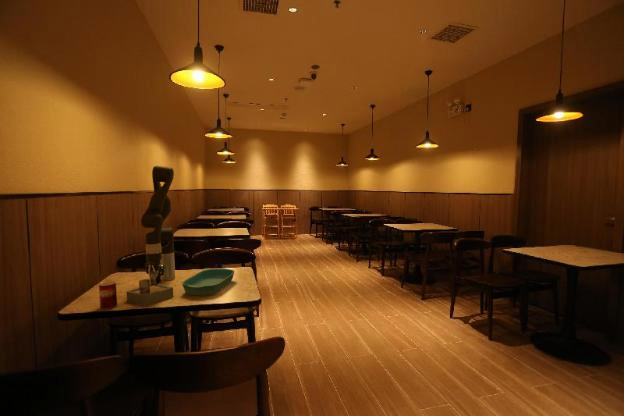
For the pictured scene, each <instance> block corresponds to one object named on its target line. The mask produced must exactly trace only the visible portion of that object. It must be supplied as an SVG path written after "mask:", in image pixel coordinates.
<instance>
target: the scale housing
mask: <svg viewBox="0 0 624 416" xmlns="http://www.w3.org/2000/svg"><path fill="white" fill-rule="evenodd" d="M150 286H153V285H150ZM154 286H159V287H163V288H167V289H164V290H161V291H158V292H154V293H151V294H148V295H143V294H139V293H136V292H133V291H137V290H139V287H138V288H134V289H131V290H128V291H126V292H125V293H126V302H129V303H132V304H135V305H140V306H143V307H148V306H151V305H154V304H156V303H159V302H162V301H165V300H168V299H171V298H173V297H174V287H172V286H169V285H168V286H167V285H164V284H161V283H160V284H158V285H154Z"/></svg>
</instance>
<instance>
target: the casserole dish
mask: <svg viewBox="0 0 624 416" xmlns="http://www.w3.org/2000/svg"><path fill="white" fill-rule="evenodd" d="M235 273H236V272H235V270H234V269H230V268H224V267H222V268H221V267H220V268H219V267H217V268H208V269H204V270H201V271H199V272H197V273H195V274H193V275H191V276H190V277H188V278H186V279H185V280H184V281H182V282H181V285H182V288H183V290H184V292H185V293H186V294H187V295H188V296H207V297H208V296H213V295H215V294H217V293H219V292H221V290H223V289H224V288H225V287H227V286H228V285H229V284H231V282H232V280H233V277H234V275H235Z"/></svg>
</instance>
